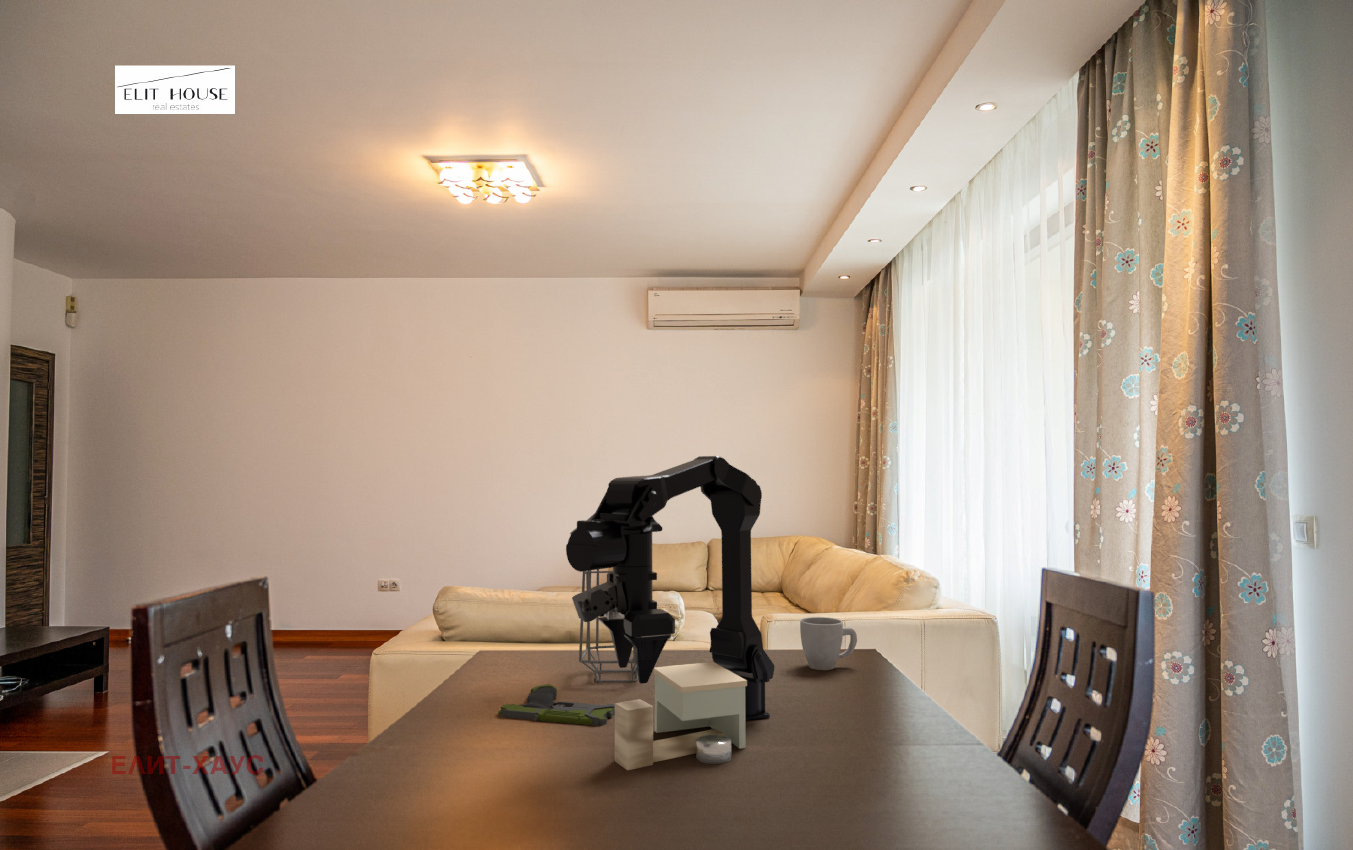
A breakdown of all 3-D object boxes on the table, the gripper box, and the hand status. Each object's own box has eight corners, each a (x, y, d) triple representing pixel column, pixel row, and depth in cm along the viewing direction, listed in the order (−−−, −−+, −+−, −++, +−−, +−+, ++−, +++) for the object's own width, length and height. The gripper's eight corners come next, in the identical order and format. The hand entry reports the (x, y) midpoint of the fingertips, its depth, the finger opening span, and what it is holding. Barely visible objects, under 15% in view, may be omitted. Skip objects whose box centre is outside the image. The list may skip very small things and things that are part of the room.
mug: (806, 672, 158) (806, 625, 159) (796, 662, 167) (795, 617, 168) (863, 671, 159) (863, 624, 160) (850, 661, 168) (849, 616, 169)
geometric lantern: (652, 687, 147) (648, 503, 149) (570, 689, 147) (566, 505, 149) (656, 666, 163) (652, 499, 165) (581, 668, 163) (578, 501, 165)
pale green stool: (713, 723, 126) (713, 661, 127) (747, 748, 114) (747, 680, 115) (653, 730, 122) (653, 667, 123) (681, 757, 111) (681, 687, 111)
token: (721, 750, 114) (721, 732, 114) (737, 761, 110) (737, 743, 110) (690, 755, 112) (690, 737, 112) (705, 767, 108) (705, 748, 108)
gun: (629, 704, 139) (602, 733, 124) (531, 695, 143) (493, 723, 129) (630, 690, 139) (602, 717, 124) (531, 682, 143) (494, 707, 129)
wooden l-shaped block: (712, 740, 118) (712, 687, 118) (727, 748, 114) (727, 693, 115) (614, 761, 109) (614, 703, 110) (627, 770, 106) (627, 710, 106)
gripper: (562, 560, 117) (562, 665, 116) (596, 575, 100) (595, 699, 99) (632, 557, 121) (632, 658, 120) (676, 571, 104) (676, 689, 103)
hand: (632, 675), depth 111 cm, fingers open, 9 cm apart
